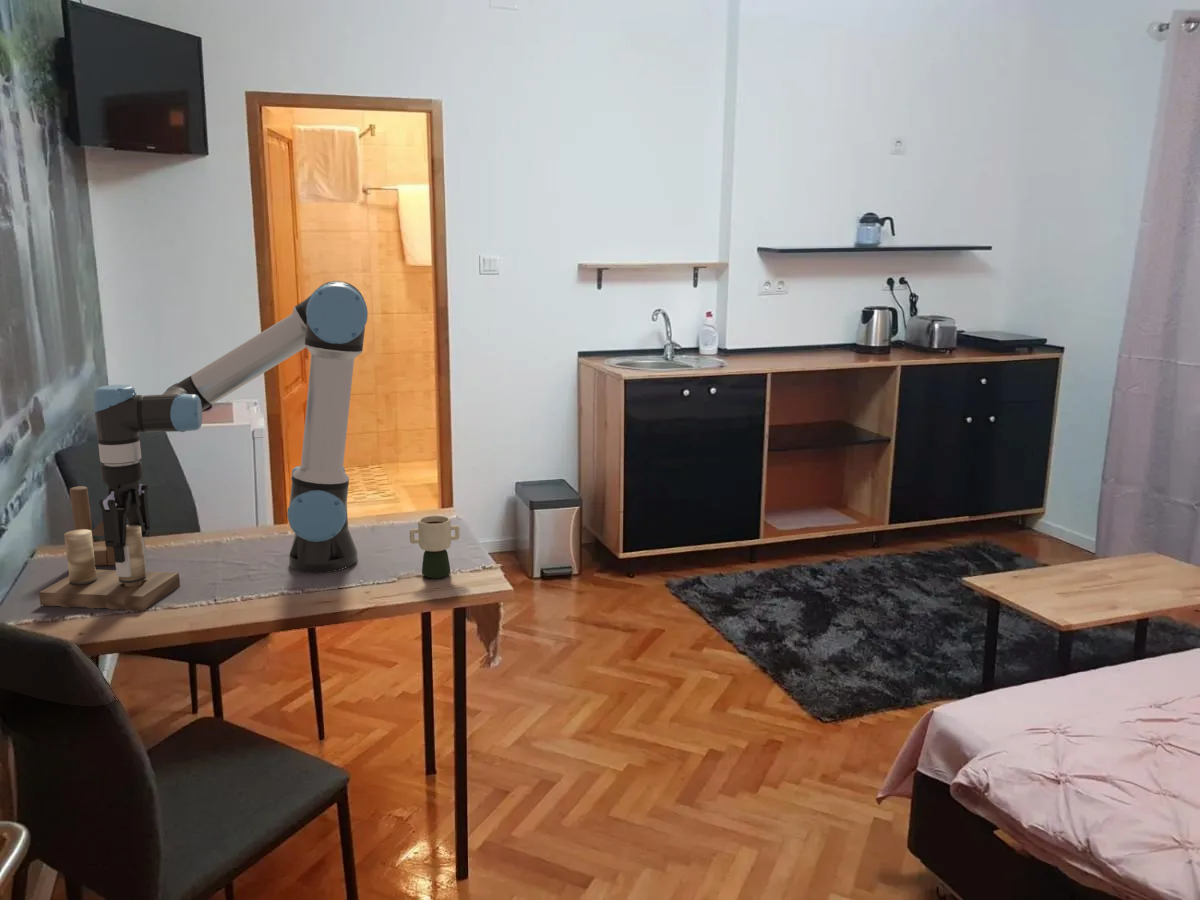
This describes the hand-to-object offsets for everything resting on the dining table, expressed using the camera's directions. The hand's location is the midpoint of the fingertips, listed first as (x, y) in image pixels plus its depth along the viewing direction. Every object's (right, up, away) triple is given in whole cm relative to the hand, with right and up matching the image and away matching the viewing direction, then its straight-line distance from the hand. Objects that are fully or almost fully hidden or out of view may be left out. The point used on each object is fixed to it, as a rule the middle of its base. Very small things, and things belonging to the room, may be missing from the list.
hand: (132, 571), depth 199 cm
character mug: (+61, -3, +15) cm, 62 cm away
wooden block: (-17, -1, +21) cm, 27 cm away
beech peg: (0, -4, +1) cm, 4 cm away
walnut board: (-5, -5, +2) cm, 7 cm away
